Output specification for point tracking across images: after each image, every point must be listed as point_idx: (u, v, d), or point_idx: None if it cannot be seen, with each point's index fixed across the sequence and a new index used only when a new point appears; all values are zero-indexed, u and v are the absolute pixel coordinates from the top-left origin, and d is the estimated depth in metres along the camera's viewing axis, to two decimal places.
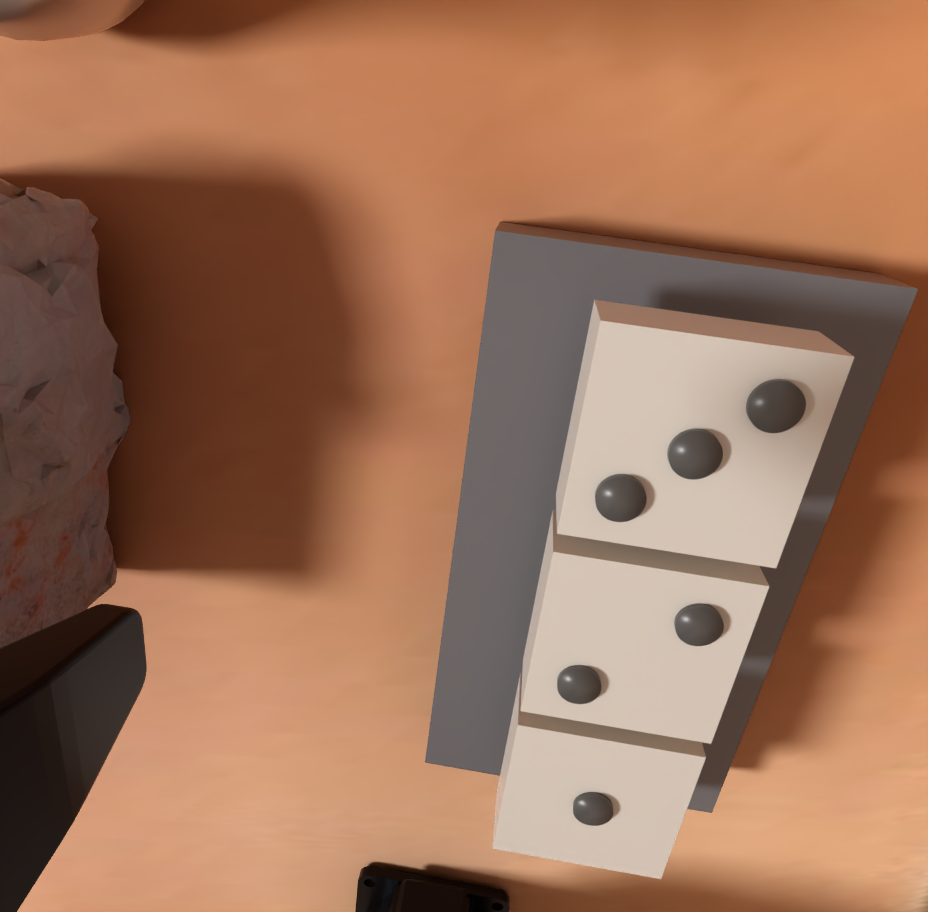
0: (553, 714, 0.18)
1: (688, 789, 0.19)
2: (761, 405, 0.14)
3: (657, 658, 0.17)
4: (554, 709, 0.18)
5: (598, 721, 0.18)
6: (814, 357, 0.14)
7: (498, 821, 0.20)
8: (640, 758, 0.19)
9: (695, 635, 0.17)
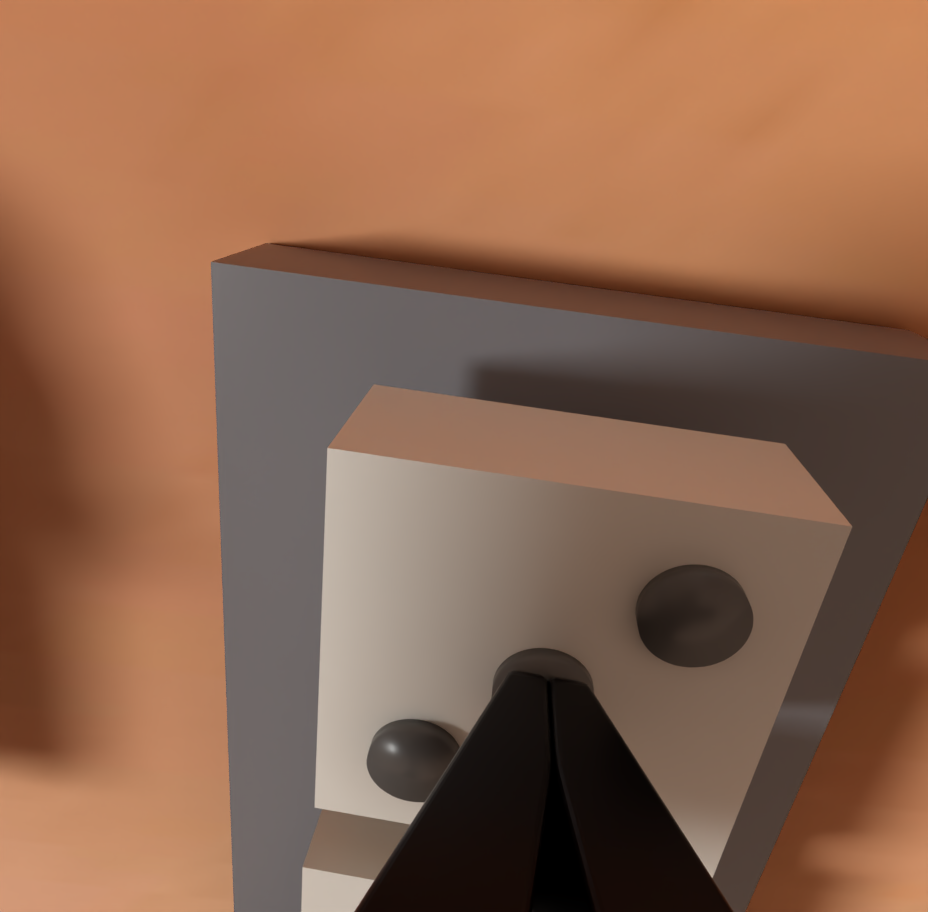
0: None
1: None
2: (663, 618, 0.07)
3: None
4: None
5: None
6: (768, 524, 0.07)
7: None
8: None
9: None
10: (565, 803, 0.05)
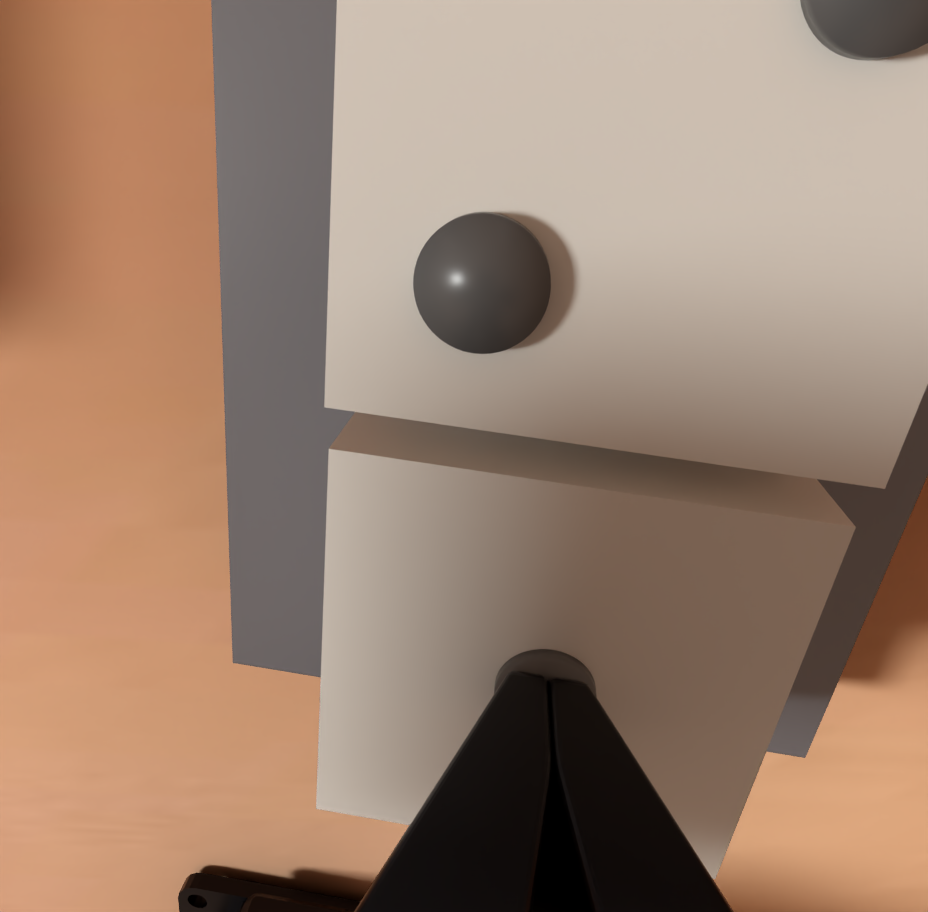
0: (421, 417, 0.06)
1: (800, 631, 0.07)
2: None
3: (733, 159, 0.05)
4: (417, 395, 0.06)
5: (550, 436, 0.06)
6: None
7: (321, 739, 0.08)
8: (667, 541, 0.07)
9: (882, 0, 0.05)
10: (565, 803, 0.05)
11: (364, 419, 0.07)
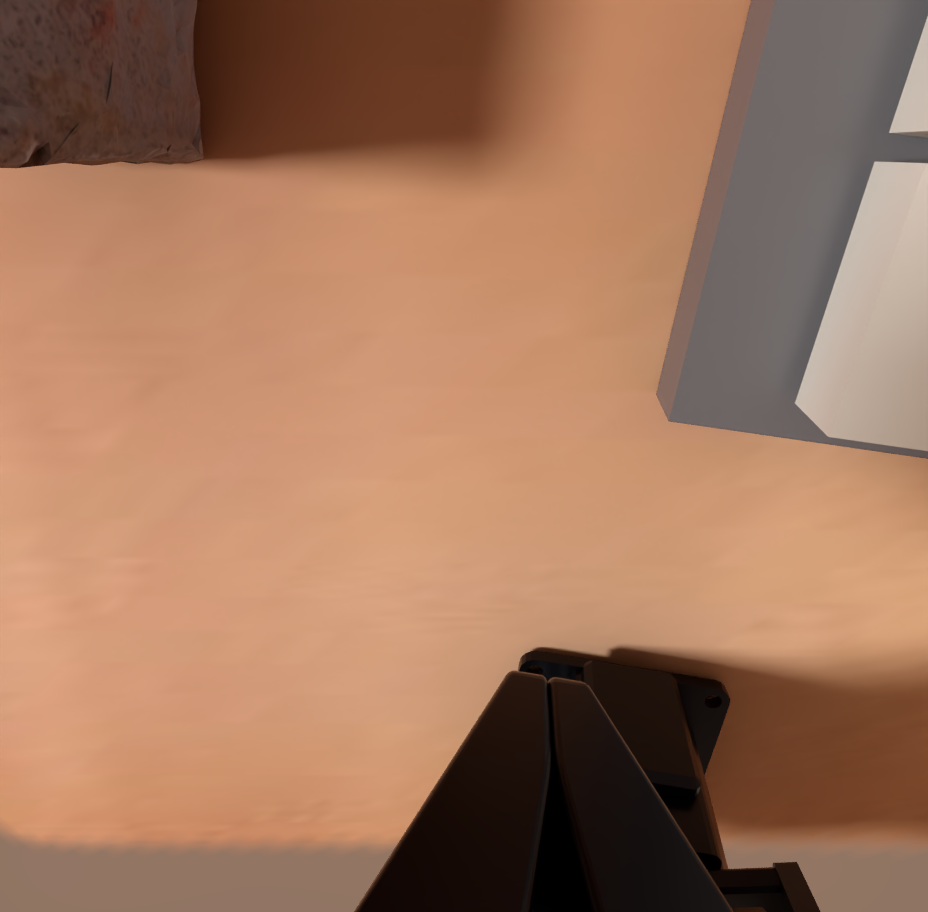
0: None
1: None
2: None
3: None
4: None
5: None
6: None
7: (848, 381, 0.13)
8: None
9: None
10: (565, 803, 0.05)
11: None
